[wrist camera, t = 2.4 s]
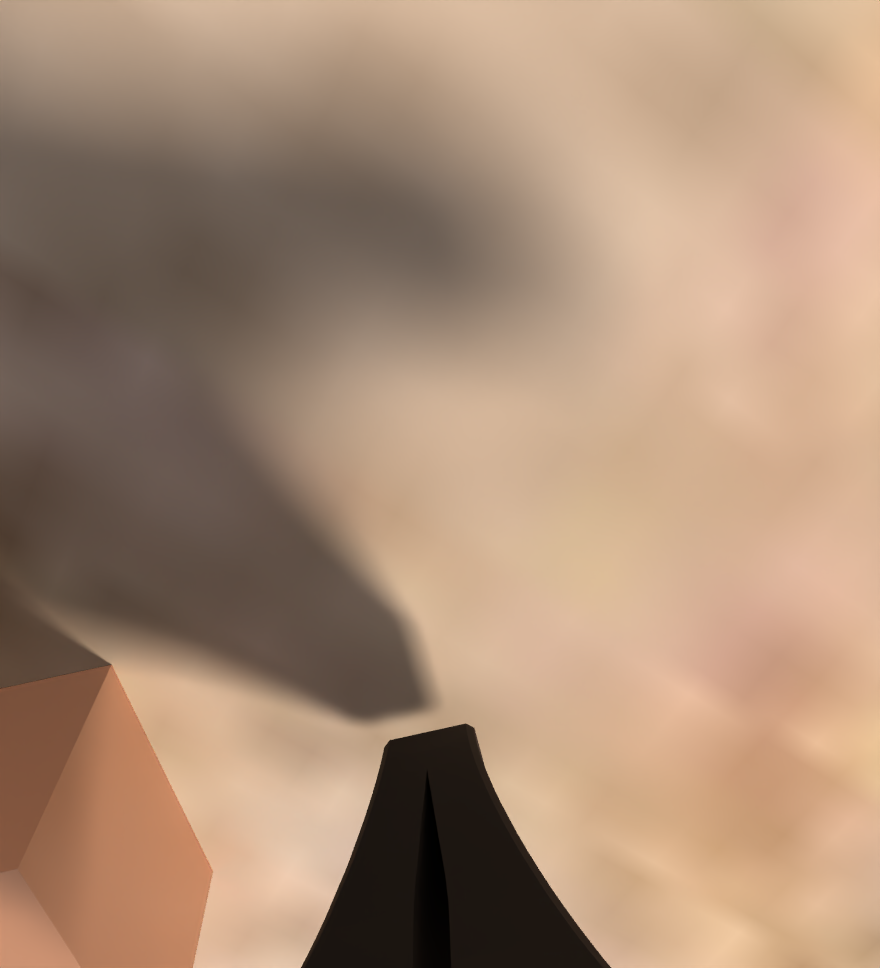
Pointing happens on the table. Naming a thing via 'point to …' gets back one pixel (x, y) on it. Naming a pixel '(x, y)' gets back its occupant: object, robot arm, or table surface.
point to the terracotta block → (91, 834)
